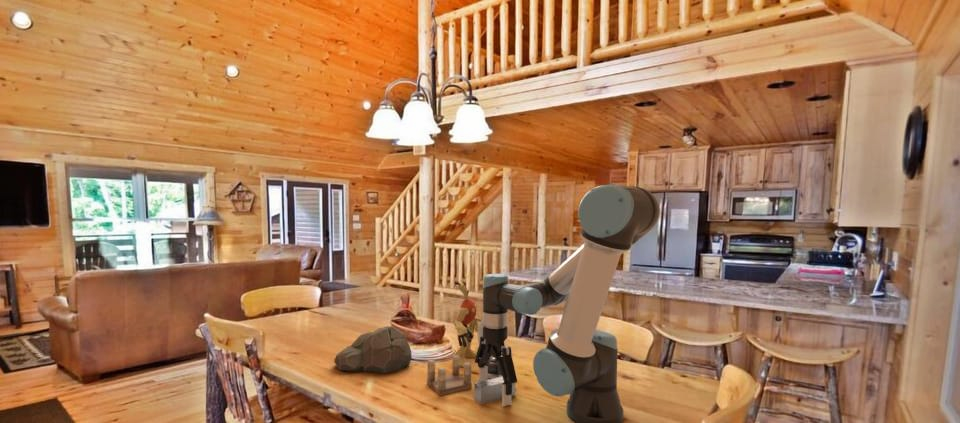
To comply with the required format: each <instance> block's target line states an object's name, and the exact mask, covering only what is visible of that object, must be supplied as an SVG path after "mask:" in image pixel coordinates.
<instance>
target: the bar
mask: <svg viewBox="0 0 960 423" xmlns="http://www.w3.org/2000/svg"><path fill="white" fill-rule="evenodd" d="M503 382H504V380H503V377H498V378H494V379H489V380H485V381H480V382H479V381H476V382H474V386H473V387H474V388H473V389H474V391H473V392H474V395H473V396H474V398H473V399H474V400H475V401H476V402H477V403H479V404H480V405H482V404H483V405H485V404H487V403H491V402H495V401H499V400H502V383H503ZM514 396H516V383H513V384H512V395H511V398H512V397H514Z"/></svg>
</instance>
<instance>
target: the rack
mask: <svg viewBox="0 0 960 423" xmlns="http://www.w3.org/2000/svg"><path fill="white" fill-rule="evenodd" d="M451 366H452V367H451V368H452V369H451V371H452V372H451V373H450V374H447V372H446V371H447V368H445V367H439V368H437V376H436V360H434V359H428V360H427V377H426V378H427V379H426V385H427V386H428V387H430V388H431V389H432V390H433V391H434V392H435V393H436V394H438V395H439V396H444V395H449V394H452V393H458V392H461V391H465V390H469V389H472V388H473V387H472V386H473V384H472V363H471V362H469V363H464V367H463V376H462V375H461V372H460V371H461V370H460V369H461V368H460V356H458V355H456V354H454V355H452V364H451Z"/></svg>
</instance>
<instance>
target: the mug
mask: <svg viewBox="0 0 960 423" xmlns="http://www.w3.org/2000/svg"><path fill="white" fill-rule="evenodd" d="M478 326H479V331H478V332H476V333H477V334H476V335H477V341H478V342H477V343H478V345H479V344H480V337H482V336H483V326H484V325H483V321H481V322H478Z"/></svg>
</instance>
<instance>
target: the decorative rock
mask: <svg viewBox="0 0 960 423" xmlns="http://www.w3.org/2000/svg"><path fill="white" fill-rule="evenodd" d="M411 361H412V348H411V347H410V344H409V342H408V338H407V335H406V334H405V332H403V331H401V330H400V329H398V328H397V327H395V326H393V325H389V326H388V325H387V326H383V327H380V328H377V329H376V330H374V331H368V332H365V333H362V334H360V335H359V336H358V337H357V338H356V339H355V340H354V341H353V342H352V343H351V345H348V346H346V348H344V349H342V350H341V351H339V352H338V353H337V354H336V356H335V358H334V360H333V362H334V364H335V365H336V367H337V368H338V370H339V371H342V372H351V373H352V372H365V373H376V374H381V375H387V374H391V373H395V372H398V371H400V370H401V369H404V368H407V367H408V366H409V365H410V364H411Z"/></svg>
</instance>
